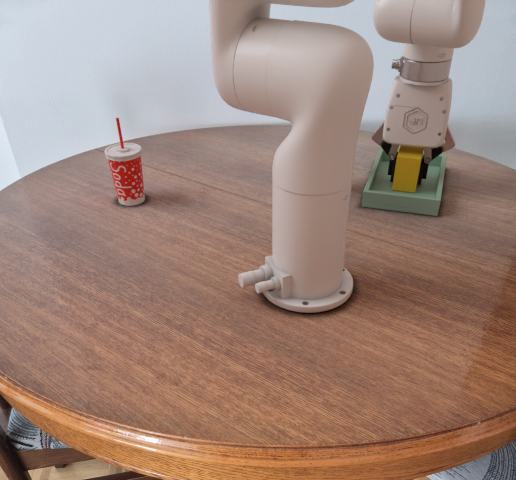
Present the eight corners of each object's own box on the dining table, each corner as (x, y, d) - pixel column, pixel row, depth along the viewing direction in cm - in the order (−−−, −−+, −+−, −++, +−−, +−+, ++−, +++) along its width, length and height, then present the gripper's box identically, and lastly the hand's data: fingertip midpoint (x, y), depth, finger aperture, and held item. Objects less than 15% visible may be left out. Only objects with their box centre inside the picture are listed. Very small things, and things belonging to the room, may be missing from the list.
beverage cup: (107, 200, 96) (90, 119, 87) (135, 189, 99) (121, 109, 90) (128, 211, 93) (112, 127, 84) (156, 199, 96) (144, 117, 87)
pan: (437, 216, 90) (440, 200, 88) (361, 206, 93) (363, 191, 91) (443, 169, 104) (446, 155, 102) (377, 162, 107) (379, 148, 105)
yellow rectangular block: (415, 192, 94) (421, 159, 90) (391, 190, 95) (397, 156, 91) (418, 176, 99) (424, 143, 95) (396, 173, 100) (401, 141, 96)
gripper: (368, 72, 85) (356, 183, 97) (480, 79, 81) (453, 195, 93) (375, 60, 90) (362, 167, 102) (481, 66, 86) (455, 177, 98)
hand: (406, 179), depth 97 cm, fingers closed on yellow rectangular block, 4 cm apart
